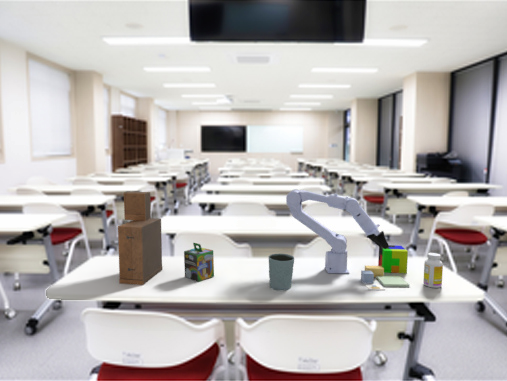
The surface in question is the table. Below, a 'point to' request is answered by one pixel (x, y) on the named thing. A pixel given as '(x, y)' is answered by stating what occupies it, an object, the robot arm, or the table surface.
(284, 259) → the green cup
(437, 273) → the supplement bottle
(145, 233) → the brown stacked boxes
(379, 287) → the page
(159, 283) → the table surface
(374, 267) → the ochre brick
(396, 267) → the puzzle toy
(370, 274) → the blue cube
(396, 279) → the baseplate
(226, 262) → the table surface
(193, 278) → the multicoloured upright box
